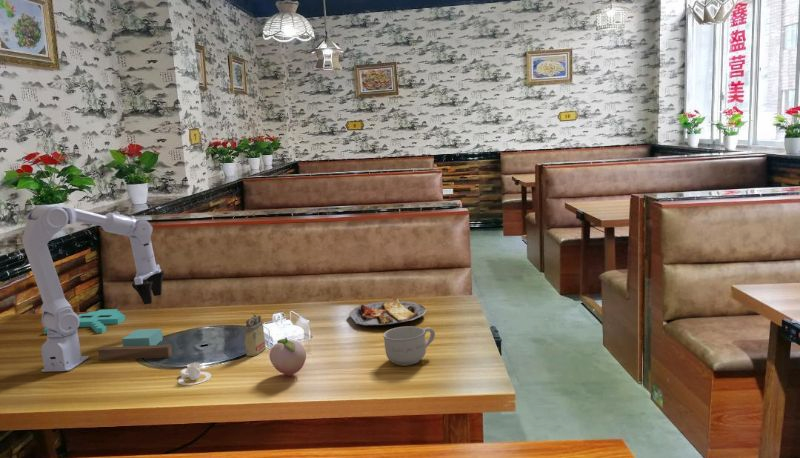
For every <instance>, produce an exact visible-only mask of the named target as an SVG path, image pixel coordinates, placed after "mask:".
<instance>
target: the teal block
mask: <svg viewBox="0 0 800 458" xmlns="http://www.w3.org/2000/svg"><path fill="white" fill-rule="evenodd" d="M163 339H164V338H163V331H162V328H144V329H143V328H140V329H134V330H133V331H132V332H130V333H129V334H127V335H126V336H124V337H123V338H121V341H122V342H121V343H122V347H124V346H150V345H157V344H158V343H159V342H160V341H161V342H163V341H164V340H163ZM162 340H163V341H162ZM161 342H160V343H161ZM160 343H159V344H160ZM159 344H158V345H159Z"/></svg>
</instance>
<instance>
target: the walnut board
mask: <svg viewBox="0 0 800 458" xmlns="http://www.w3.org/2000/svg"><path fill="white" fill-rule="evenodd" d="M97 352H98V360H99V361H111V360H112V361H113V360H114V361H116V360H117V361H118V360H137V359H138V360H140V359H139V358H144V359H168V358H171V356H172V346H171V344H158V345H150V346H124V347H123V346H105V347H100V348H99V349H97Z"/></svg>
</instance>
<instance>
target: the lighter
mask: <svg viewBox="0 0 800 458" xmlns="http://www.w3.org/2000/svg"><path fill="white" fill-rule="evenodd" d="M252 315H253V317H251V318H248V319H245V323H246V324H245V326H244V327H243V335H244V345H245V356H246V357H254V356H255V357H256V356H257V355H259V354H261V352H263V351H265V350H266V349H267V348H266V340H265V332H264V331H265V330H264V324H263V320H262V316H261V315H258V316H257V314H252Z"/></svg>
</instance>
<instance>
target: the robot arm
mask: <svg viewBox="0 0 800 458" xmlns="http://www.w3.org/2000/svg"><path fill="white" fill-rule="evenodd" d="M25 221H26V224H25V229H24V231H23V235H22V239H21V241H22V245H23V248H24V251H25V254H26V256H27V260H28V263H29V266H30V269H31V272H32V274H33V275H32V276H33V277H34V280H35V283H36V285H37V286H36V287H37V289H38V292H39V294H40V298H41V301H42V304H41V307H40V309H41V313H42V314H41V325H42V326H43V327H44V329H45V328H46V329H48V332H47V338H46V341H45V342H44V343H43V344H42V345H41V348H40V349H41V351H40V352H41V358H42V363H43V369H41V370H40V371H41V372H42V373H44V372H50V373H51V372H70V371H71V370H73V369H74V368H76V367H77V366H79V365H80V364H81V363H84V361H86V360H87V359H89V357H90V356H89V355H82V351H81V345H80V339H79V334H78V333H79V332H78V330H79V329H78V328H80V327H79V324H80V319H79V317H78V315H79V314H77V313H76V312H74V309H73V307H72V305H71V304H70V303H69V301H68V300H67V299H66V297H65V294H64V290H63V288H62V285H61V282H60V278H59V275H58V273H57V270H56V267H55V264H54V261H53V258H52V255H51V252H50V249H49V246H48V244H49V242H50V240H52V238H53V237H54V235H56V234H57V233H59V232H60V231H61V230H63V229H64V228H65V227H66V226H67V225H73V224H74V223H76V222H77V223H82V224H87V225H88V224H89V225H95V226H100V227H101V228H102V229H103V231H104V232H105V233H106V232H107V233H111V234H116V235H120V236H121V235H122V236H125V237H128V238H129V241H130V246H131V250H132V255H133V260H134V265H135V269H136V274H135V277H134V278H133V281H134V282H133V283H132V284H131V286H132V288H133V289H134V290H135V291H136V292H137V294H138V295H139V297H140V299H141V301H142V303H143V304H144V305H151V304H152V302H153V298H152V297H158V296H162V291H163V290H162V287H163V286H162V285H163V278H164V275H165V271H163V270H162V269H161V266H160V264H158V263H156V257H155V251H154V249H153V243H152V238H151V237H152V233H153V230H154V227H153V226H152V225H151V223H150V222H149V221H148V220H147V219H142V218H141V219H140V218H135V216H134V215H129V216H128V215H123V214H121V213H120V212H119V211H112V212H108V213H105V215H104V214H99V213H95V212H91V211H87V210H84V209H80V208H75V207H66V206H65V207H64V206H50V205H49V206H48V205H43V204H42V205H37V206H35V207H33V208H32V209H31V211H30V212H29V213H28V214H27V215H26V217H25ZM152 295H153V296H152Z"/></svg>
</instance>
